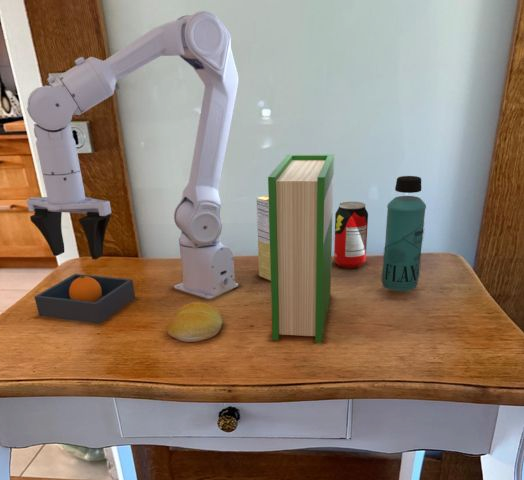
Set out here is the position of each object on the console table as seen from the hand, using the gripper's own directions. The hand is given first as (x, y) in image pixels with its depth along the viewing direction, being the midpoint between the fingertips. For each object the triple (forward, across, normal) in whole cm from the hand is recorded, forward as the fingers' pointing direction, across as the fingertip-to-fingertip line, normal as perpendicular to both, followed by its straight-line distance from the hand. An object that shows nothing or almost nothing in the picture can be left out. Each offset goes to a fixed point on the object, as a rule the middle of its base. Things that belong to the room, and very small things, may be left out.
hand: (78, 255), depth 92 cm
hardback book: (+10, +37, +6) cm, 39 cm away
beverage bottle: (+10, +51, +20) cm, 56 cm away
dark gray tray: (+10, 0, 0) cm, 10 cm away
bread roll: (+10, +22, -3) cm, 25 cm away
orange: (+9, 0, 0) cm, 9 cm away
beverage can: (+10, +40, +33) cm, 53 cm away
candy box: (+10, +28, +24) cm, 38 cm away
